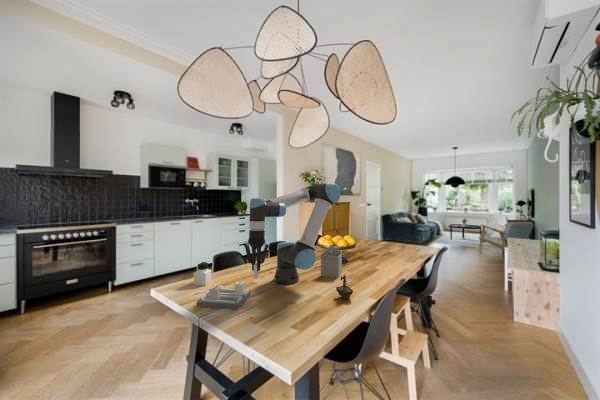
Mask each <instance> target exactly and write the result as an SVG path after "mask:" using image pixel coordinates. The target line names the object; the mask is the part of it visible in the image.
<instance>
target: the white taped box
mask: <svg viewBox="0 0 600 400" xmlns="http://www.w3.org/2000/svg"><path fill="white" fill-rule="evenodd" d="M234 289H235V294H242V295H243V293H244V292H245V290H246V281H236V283H235V284H234Z"/></svg>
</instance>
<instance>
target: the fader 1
mask: <svg viewBox="0 0 600 400" xmlns="http://www.w3.org/2000/svg"><path fill="white" fill-rule="evenodd" d="M221 289H222V286H212V287H210V288H209V289H208V293H209V299H211V300H219V299H220V298H221Z"/></svg>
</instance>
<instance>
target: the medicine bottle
mask: <svg viewBox="0 0 600 400" xmlns="http://www.w3.org/2000/svg"><path fill="white" fill-rule="evenodd" d="M211 282H212V269H209V263H208V262H207V261H201V262H198V263H196V271H194V272H193V286H199V287H200V286H203V287H204V286H205V287H206V286H207V285H208V284H210V283H211Z"/></svg>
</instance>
